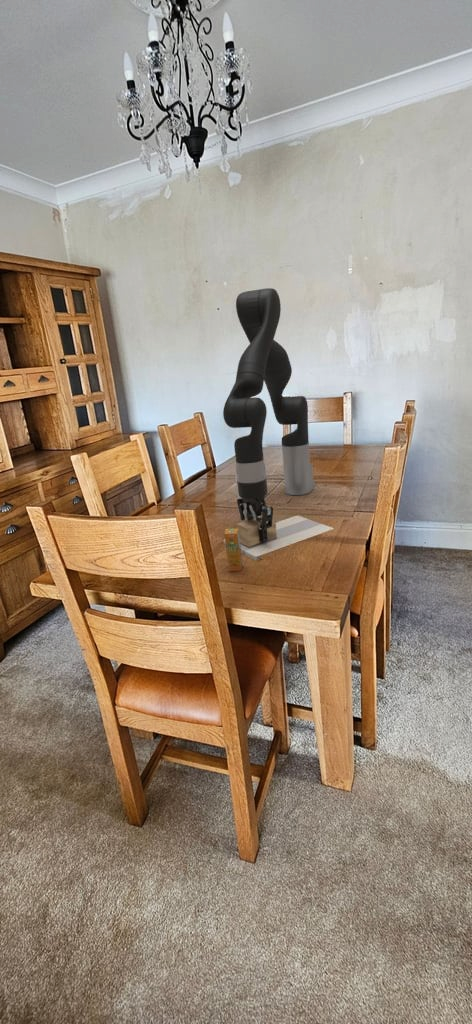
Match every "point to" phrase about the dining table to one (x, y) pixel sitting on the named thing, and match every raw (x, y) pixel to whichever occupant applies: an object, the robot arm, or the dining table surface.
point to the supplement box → (233, 549)
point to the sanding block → (254, 533)
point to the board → (286, 535)
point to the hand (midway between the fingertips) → (257, 538)
